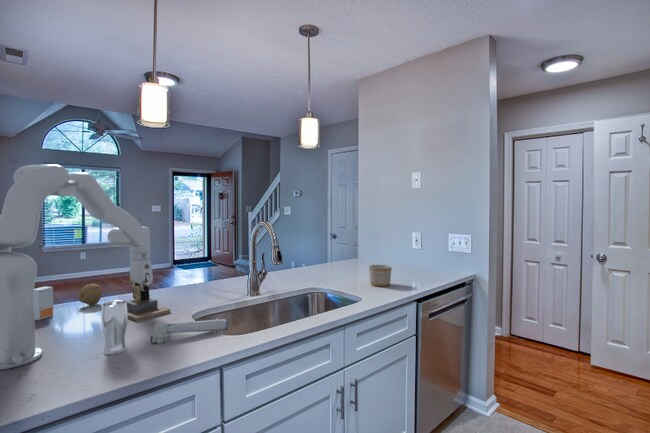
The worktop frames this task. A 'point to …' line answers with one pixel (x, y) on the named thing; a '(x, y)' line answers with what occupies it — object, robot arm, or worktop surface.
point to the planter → (380, 275)
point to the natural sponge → (90, 294)
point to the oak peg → (138, 294)
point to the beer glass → (114, 326)
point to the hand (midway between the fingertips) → (141, 298)
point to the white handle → (185, 328)
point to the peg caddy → (145, 310)
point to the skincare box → (43, 302)
